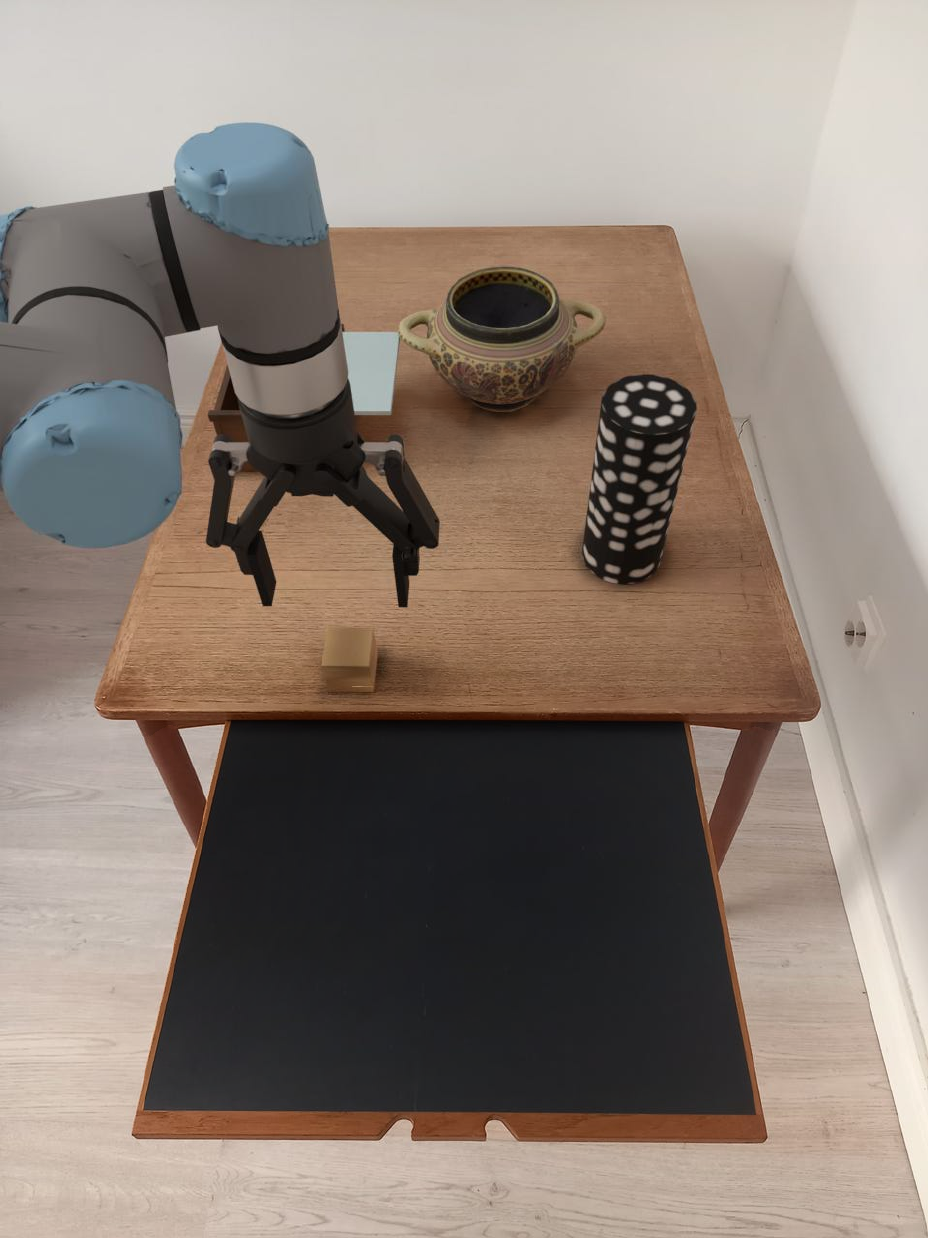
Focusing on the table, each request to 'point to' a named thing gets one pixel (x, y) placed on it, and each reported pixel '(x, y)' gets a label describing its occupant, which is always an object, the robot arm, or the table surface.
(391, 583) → the table surface
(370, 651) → the block
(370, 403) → the pale blue square panel
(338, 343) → the robot arm
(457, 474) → the table surface
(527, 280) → the ceramic bowl
